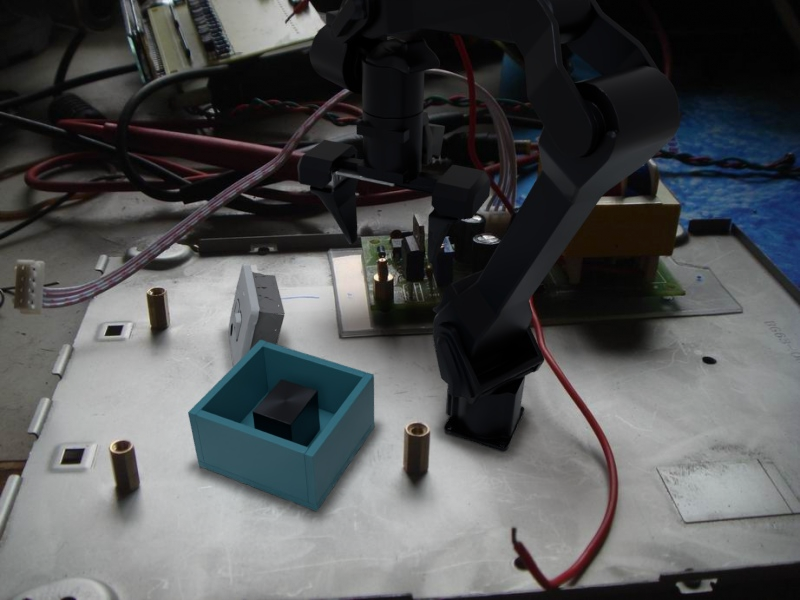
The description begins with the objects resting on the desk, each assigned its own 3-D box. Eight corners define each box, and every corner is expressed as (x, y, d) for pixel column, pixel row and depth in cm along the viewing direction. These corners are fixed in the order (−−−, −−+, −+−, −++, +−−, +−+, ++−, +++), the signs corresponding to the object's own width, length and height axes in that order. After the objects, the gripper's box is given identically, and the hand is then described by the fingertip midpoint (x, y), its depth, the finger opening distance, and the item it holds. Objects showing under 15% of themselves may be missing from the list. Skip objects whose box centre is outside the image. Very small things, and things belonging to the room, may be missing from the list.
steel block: (320, 429, 73) (317, 390, 70) (294, 464, 69) (290, 424, 66) (284, 417, 74) (280, 378, 71) (257, 450, 70) (252, 411, 68)
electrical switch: (227, 331, 87) (226, 262, 82) (272, 328, 88) (273, 260, 83) (235, 383, 80) (234, 311, 74) (283, 379, 81) (286, 308, 76)
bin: (374, 426, 74) (374, 374, 70) (316, 511, 66) (312, 456, 62) (266, 390, 78) (260, 339, 75) (198, 466, 70) (187, 412, 66)
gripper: (514, 96, 73) (500, 236, 82) (344, 69, 79) (348, 202, 88) (476, 136, 65) (465, 287, 73) (289, 102, 71) (300, 245, 80)
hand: (391, 251), depth 79 cm, fingers open, 9 cm apart
